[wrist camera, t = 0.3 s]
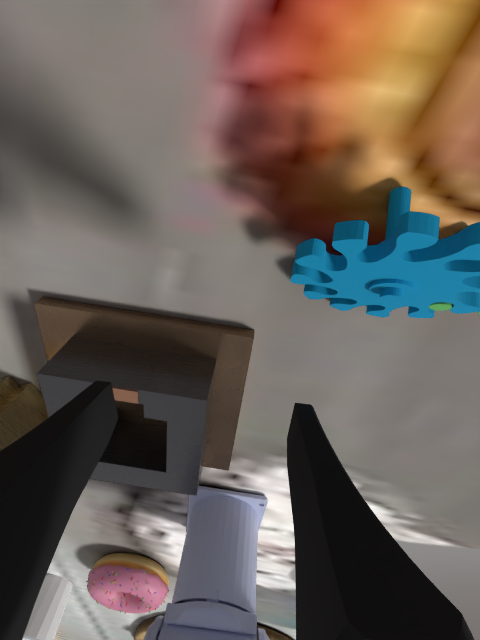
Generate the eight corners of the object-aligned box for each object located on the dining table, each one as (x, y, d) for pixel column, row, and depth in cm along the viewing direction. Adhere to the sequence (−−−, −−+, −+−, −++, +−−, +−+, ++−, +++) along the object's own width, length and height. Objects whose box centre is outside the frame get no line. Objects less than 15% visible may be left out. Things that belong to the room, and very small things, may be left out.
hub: (229, 460, 30) (222, 517, 26) (73, 435, 30) (40, 487, 26) (254, 330, 22) (250, 379, 18) (42, 296, 22) (-13, 337, 18)
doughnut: (188, 575, 45) (181, 613, 41) (135, 587, 49) (124, 624, 45) (132, 540, 41) (119, 579, 37) (79, 557, 45) (63, 594, 41)
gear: (260, 297, 19) (368, 216, 9) (277, 210, 20) (386, 63, 11) (413, 339, 21) (623, 309, 12) (419, 259, 23) (611, 174, 13)
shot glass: (26, 570, 48) (-9, 632, 42) (68, 574, 48) (39, 637, 42) (42, 589, 52) (12, 649, 46) (82, 593, 51) (57, 654, 45)
